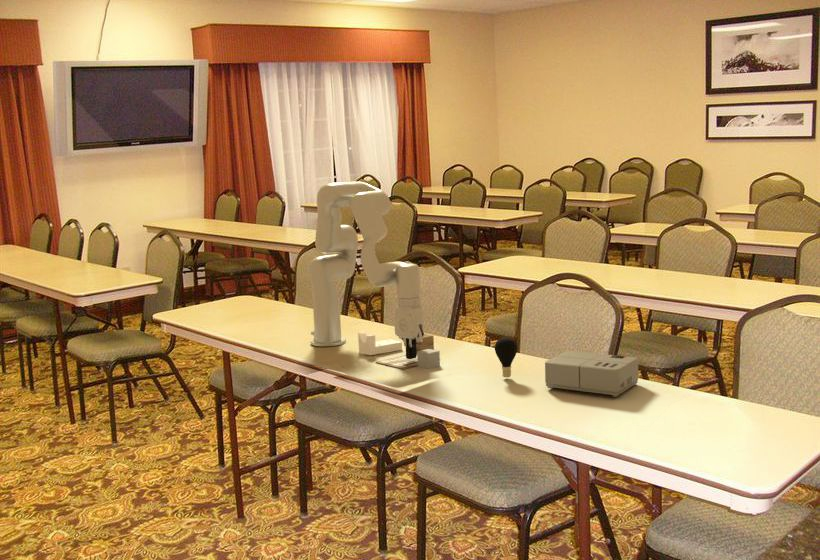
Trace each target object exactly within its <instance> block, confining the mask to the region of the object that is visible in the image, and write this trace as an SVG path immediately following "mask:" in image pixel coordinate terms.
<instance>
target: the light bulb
mask: <svg viewBox="0 0 820 560" xmlns="http://www.w3.org/2000/svg"><path fill="white" fill-rule="evenodd" d="M494 352H495V354H496V356H497V359H498V360H499V362H500V363H501V370H502V371H501V372H502V377H503V378H510V377H511V376H512V363H513V362H514V359H515V357H516V356H517V352H518V344H517V342H516V340H514V339H513V338H512V337H507V336H505V337H501V338H499V339H498V340H497V341H496V342H495V344H494Z"/></svg>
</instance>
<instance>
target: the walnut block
mask: <svg viewBox="0 0 820 560" xmlns="http://www.w3.org/2000/svg"><path fill="white" fill-rule="evenodd" d="M422 338H423V341H422V342H418V345H417V346H416V353H417V351H421V350H426V349H432V350H435V346H434V345H435V344H434V342H435V341H434V335H431V334H427V333H424V336H423V337H422Z"/></svg>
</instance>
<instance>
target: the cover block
mask: <svg viewBox="0 0 820 560" xmlns="http://www.w3.org/2000/svg"><path fill="white" fill-rule="evenodd" d="M440 356H441V355H440V350H437V349H434V350H432V349H426V350H421V351H417V360H418V366H417V367H418V368H423V369H426V370H431V369H433V368H434V369H435V368H438V367H441V357H440Z"/></svg>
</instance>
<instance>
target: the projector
mask: <svg viewBox="0 0 820 560" xmlns="http://www.w3.org/2000/svg"><path fill="white" fill-rule="evenodd" d="M544 377H545V378H544V380H545V387H547V388H548V389H553V388H555V389H561V390H562V389H563V390H569V391H570V390H572V391H577V392H584V393H585V392H586V393H593V394H594V393H595V394H602V395H609V396H612V397H619V395H621V394H622V393H624V392H626V391H627V390H629V389H630V388H632V387H633V386H635V385H637V384H638V381H639V359H638V357H633V356H623V355H615V354H605V353H597V352H596V353H594V352H587V351H586V352H585V351H575V350H567V351H565V352H562V353H560V354H558V355H556V356H554V357H551V358H550V359H548V360H545V362H544Z"/></svg>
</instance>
